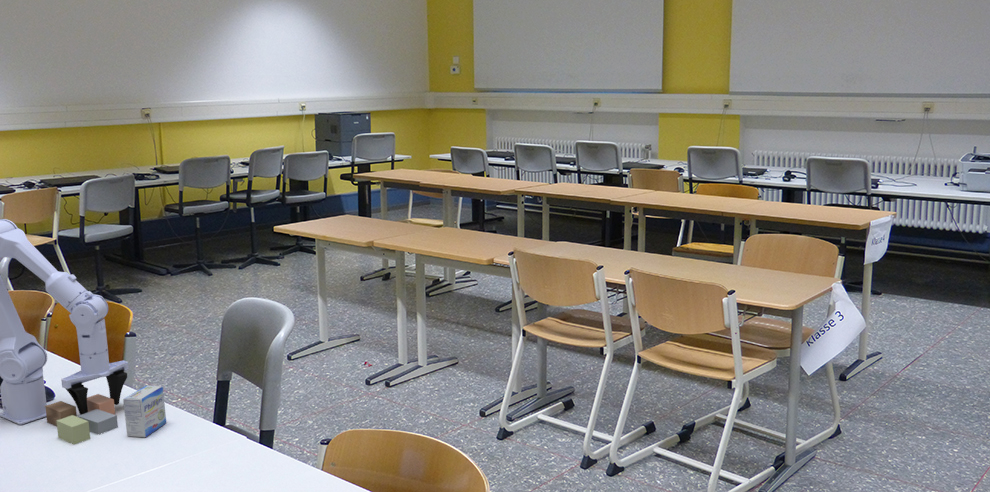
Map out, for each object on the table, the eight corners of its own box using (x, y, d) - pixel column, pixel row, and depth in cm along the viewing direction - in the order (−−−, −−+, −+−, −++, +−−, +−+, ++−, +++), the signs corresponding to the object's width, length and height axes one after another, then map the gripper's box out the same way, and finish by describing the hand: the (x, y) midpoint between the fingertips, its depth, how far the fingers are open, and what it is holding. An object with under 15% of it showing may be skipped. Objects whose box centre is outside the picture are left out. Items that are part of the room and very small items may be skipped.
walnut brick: (47, 423, 184) (45, 405, 183) (62, 417, 186) (60, 400, 186) (62, 429, 180) (60, 411, 179) (77, 423, 183) (75, 406, 182)
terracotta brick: (85, 415, 188) (83, 398, 187) (100, 410, 190) (98, 393, 190) (100, 421, 184) (98, 404, 184) (115, 416, 187) (113, 399, 186)
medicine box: (145, 438, 175) (141, 399, 173) (126, 436, 176) (122, 398, 174) (167, 423, 183) (163, 385, 181) (148, 421, 184) (145, 384, 182)
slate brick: (79, 429, 181) (77, 415, 180) (98, 421, 185) (96, 408, 184) (99, 436, 177) (97, 422, 177) (118, 428, 181) (116, 415, 180)
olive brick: (58, 438, 176) (56, 420, 175) (74, 432, 178) (72, 415, 178) (74, 445, 172) (72, 427, 172) (90, 439, 175) (88, 421, 174)
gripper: (71, 363, 176) (78, 424, 179) (134, 345, 188) (139, 402, 191) (53, 357, 180) (60, 416, 183) (116, 340, 192) (121, 396, 195)
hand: (99, 409), depth 187 cm, fingers open, 7 cm apart
